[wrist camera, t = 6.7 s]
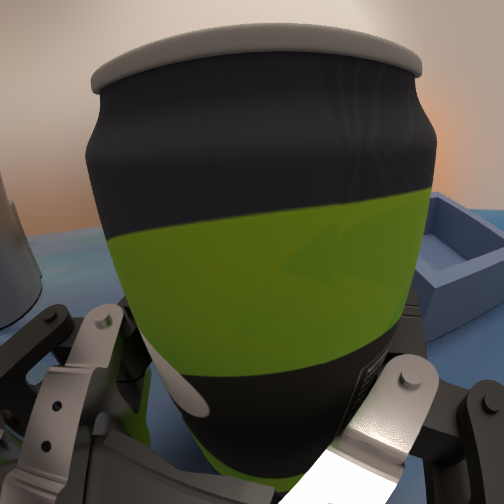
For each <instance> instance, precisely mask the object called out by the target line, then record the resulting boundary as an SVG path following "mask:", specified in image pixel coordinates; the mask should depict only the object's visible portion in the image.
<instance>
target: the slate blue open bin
mask: <svg viewBox="0 0 504 504" xmlns="http://www.w3.org/2000/svg"><path fill="white" fill-rule="evenodd" d="M411 286H412V287H413V289H414V290H415V291H416V293H417V297H418V302H419V308H420V313H421V319H422V325H423V332H424V338H425V344H426V343H428V342H430V341H432V340H434V339H436V338H438V337H440V336H442V335H444V334H446V333H448V332H450V331H452V330H454V329H456V328H458V327H460V326H462V325H464V324H466V323H467V322H469V321H471V320H473V319H475V318H476V317H478V316H480V315H482V314H484V313H485V312H487V311H489V310H490V309H492V308H494V307H495V306H497V305H499V304H500V303H502V302H503V301H504V232H503V231H501V230H500V229H498V228H497V227H495V226H494V225H492V224H491V223H489V222H488V221H486V220H484V219H483V218H481V217H480V216H478V215H477V214H475V213H473V212H472V211H470V210H468V209H467V208H465V207H463V206H462V205H460V204H458V203H457V202H455V201H453V200H451V199H450V198H448V197H446V196H444V195H442V194H441V193H439V192H433V193H431V196H430V202H429V208H428V214H427V219H426V224H425V229H424V234H423V238H422V243H421V247H420V252H419V256H418V260H417V264H416V268H415V272H414V275H413V279H412V282H411Z"/></svg>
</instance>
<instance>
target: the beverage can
mask: <svg viewBox="0 0 504 504" xmlns="http://www.w3.org/2000/svg"><path fill="white" fill-rule="evenodd" d="M421 75H422V62H421V59H420V58H419V57H418V55H416V54H415V53H414V52H412V51H411V50H409V49H407V48H406V47H403V46H401V45H399V44H397V43H394V42H392V41H389V40H386V39H383V38H380V37H377V36H373V35H370V34H366V33H362V32H357V31H353V30H348V29H342V28H337V27H330V26H322V25H312V24H298V23H256V24H240V25H230V26H222V27H215V28H208V29H203V30H198V31H192V32H188V33H184V34H179V35H175V36H171V37H168V38H164V39H161V40H157V41H154V42H151V43H148V44H146V45H143V46H140V47H138V48H135V49H133V50H130V51H128V52H126V53H124V54H122V55H119V56H117V57H116V58H114V59H112V60H110V61H108V62H107V63H105V64H104V65H102V66H101V67H100V68H98V69H97V70H96V71H95V72H94V74H93V75H92V78H91V88H92V91H93V93H95V94H98V95H100V112H99V117H98V120H97V123H96V126H95V128H94V130H93V133H92V135H91V137H90V140H89V142H88V145H87V148H86V153H85V158H86V164H87V168H88V173H89V178H90V182H91V186H92V190H93V194H94V198H95V202H96V206H97V210H98V213H99V217H100V221H101V224H102V228H103V231H104V234H105V238H106V241H107V244H108V247H109V251H110V254H111V257H112V260H113V263H114V266H115V269H116V272H117V274H118V277H119V280H120V283H121V286H122V288H123V291H124V294H125V296H126V299H127V302H128V304H129V307H130V309H131V312H132V314H133V317H134V319H135V322H136V324H137V326H138V329H139V331H140V333H141V336H142V338H143V340H144V343H145V345H146V347H147V349H148V351H149V354H150V356H151V358H152V360H153V362H154V364H155V366H156V369H157V371H158V373H159V375H160V377H161V379H162V381H163V383H164V385H165V387H166V389H167V391H168V393H169V394H170V396H171V398H172V400H173V402H174V404H175V406H176V408H177V409H178V411H179V413H180V415H181V417H182V418H183V420H184V422H185V424H186V425H187V427H188V429H189V431H190V432H191V434H192V436H193V437H194V439H195V441H196V442H197V444H198V445H199V447H200V449H201V450H202V452H203V453H204V455H205V457H206V458H207V460H208V461H209V463H210V464H211V466H212V467H213V469H214V470H215V472H216V473H217V474H218V475H225V476H231V477H235V478H238V479H242V480H246V481H250V482H254V483H258V484H262V485H266V486H271V487H276V495H278V496H280V497H282V498H284V497H286V495H287V494H288V493H289V492H290V491H291V490H292V489H293V488H294V487H295V486H296V485H297V484H298V482H299V481H300V480H301V479H302V478H303V477H304V476H305V475H306V473H307V472H308V471H309V470H310V469H311V468H312V466H313V465H314V464H315V463H316V462H317V460H318V459H319V458H320V457H321V455H322V454H323V453H324V452H325V450H326V449H327V448H328V447H329V445H330V444H331V443H332V442H333V440H334V439H335V438H336V437H337V436H338V435H339V434H341V433H342V432H343V431H344V430H345V429H346V427H347V426H348V424H349V423H350V422H351V420H352V419H353V417H354V416H355V414H356V413H357V411H358V410H359V408H360V407H361V405H362V404H363V402H364V401H365V399H366V397H367V396H368V394H369V391H370V389H371V387H372V384H373V382H374V379H375V377H376V375H377V372H378V371H379V370H380V368H381V366H382V365H383V362H384V360H385V357H386V355H387V352H388V350H389V348H390V346H391V344H392V341H393V338H394V336H395V333H396V330H397V327H398V324H399V321H400V318H401V315H402V312H403V309H404V306H405V303H406V300H407V296H408V293H409V289H410V286H411V282H412V279H413V275H414V272H415V268H416V264H417V260H418V256H419V252H420V247H421V243H422V238H423V234H424V229H425V224H426V219H427V214H428V208H429V202H430V196H431V189H432V183H433V174H434V167H435V166H434V165H435V158H436V148H437V137H436V133H435V130H434V128H433V126H432V124H431V123H430V121H429V119H428V117H427V116H426V114H425V112H424V110H423V109H422V106H421V104H420V102H419V99H418V97H417V93H416V88H415V78H418V77H420V76H421Z"/></svg>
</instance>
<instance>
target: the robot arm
mask: <svg viewBox="0 0 504 504" xmlns="http://www.w3.org/2000/svg"><path fill="white" fill-rule="evenodd" d="M41 275H42V273H41V271H40V269H39V267H38V264H37V262H36V260H35V258H34V255H33V253H32V250H31V248H30V246H29V243H28V241H27V238H26V236H25V233H24V230H23V228H22V225H21V222H20V219H19V217H18V213H17V210H16V207H15V204H14V202H13V200H11V199H8V198H7V194H6V191H5V188H4V184H3V180H2V176H1V173H0V328H2V327H4V326H7V325H9V324H10V323H12V322H14V321H15V320H17V319H18V318H19V317H21V316H22V315H23V314H24V313H25V312H26V311H27V310H28V309H29V308H30V307H31V306H32V305H33V304H34V302H35V301H36V300H37V298H38V296H39V294H40V292H41V288H42V284H41V281H40V277H41ZM50 351H51V353H52V354H53V356H54V357H55V358H56V360H57V361H58V363H59V365H58V366H56V365H54V366H51V367H50V368H49V369H48V370H47V372H46V374H45V377H44V379H43V380H42V381H41V382H40V383H39V384H37V385H31V384H29V383H28V382H27V380H26V374H27V373H28V371H29V370H30V369H31V368H33V367H34V366H35V365H36V364H37V363H38V362H39V361H40V360H41V359H42V358H43V357H45V356H46V355H47V354H48V353H49V352H50ZM151 362H152V358H151V356H150V354H149V351H148V349H147V347H146V345H145V343H144V340H143V338H142V336H141V333H140V331H139V329H138V326H137V324H136V322H135V319H134V317H133V314H132V312H131V309H130V307H129V304H128V302H127V299H126V296H124V297H123V298H122V300H121V301H120V302H119V303H118V304H117V305H115V304H104V305H101V306H98V307H96V308H94V309H93V310H92V311H90V312H89V313H88V314H87V315H86V317H85V318H72V317H71V315H70V313H69V311H68V309H67V308H66V306H64V305H61V304H57V305H52V306H50V307H48V308H46V309H45V310H43V311H42V312H41V313H40V314H38V315H37V316H36V317H35V318H33V319H32V320H31V321H30V322H29V323H27V324H26V325H25V326H24V327H23V328H21V329H20V330H19V331H18V332H17V333H16V334H14V335H13V336H12V337H11V338H10V339H9V340H7V341H6V342H5V343H4V344H3V345H2V346H1V347H0V504H385V502H386V501H387V499H388V498H389V496H390V495H391V493H392V491H393V490H394V488H395V486H396V485H397V483H398V481H399V480H400V478H401V476H402V474H403V471H404V468H405V465H404V462H405V459H406V457H407V455H408V454H410V455H413V456H416V457H419V458H422V459H423V466H424V475H425V485H426V498H427V504H504V386H502V385H501V384H500V383H498V382H496V381H492V380H483V381H480V382H478V383H476V384H475V385H474V386H473V387H472V388H471V389H470V390H468V389H464V388H461V387H458V386H455V385H452V384H449V383H447V382H445V381H443V380H441V379H440V378H439V377H438V373H437V371H436V369H435V367H434V366H433V365H432V364H431V363H430V362H429V361H428V360H427V354H426V346H425V338H424V332H423V325H422V319H421V313H420V308H419V302H418V297H417V293H416V291H415V290H414V289H413V287H412V286H410V289H409V293H408V296H407V300H406V303H405V306H404V309H403V312H402V315H401V318H400V321H399V324H398V327H397V330H396V333H395V336H394V338H393V341H392V344H391V346H390V348H389V350H388V352H387V355H386V357H385V360H384V362H383V365H382V366H381V368H380V370H379V371H378V372H377V375H376V377H375V379H374V382H373V384H372V387H371V389H370V391H369V394H368V396H367V397H366V399H365V401H364V402H363V404H362V405H361V407H360V408H359V410H358V411H357V413H356V414H355V416H354V417H353V419H352V420H351V422H350V423H349V424H348V426H347V427H346V429H345V430H344V431H343V432H342V433H341V434H339V435H338V436H337V437H336V438H335V439H334V440H333V442H332V443H331V444H330V445H329V447H328V448H327V449H326V450H325V452H324V453H323V454H322V455H321V457H320V458H319V459H318V460H317V462H316V463H315V464H314V465H313V466H312V468H311V469H310V470H309V471H308V472H307V473H306V475H305V476H304V477H303V478H302V479H301V480H300V481H299V482H298V484H297V485H296V486H295V487H294V488H293V489H292V490H291V491H290V492H289V493H288V494H287V495H286V497H285V498H282V497H280V496H278V495H276V487H271V486H266V485H262V484H258V483H254V482H250V481H246V480H242V479H238V478H235V477H231V476H225V475H213V474H202V473H194V472H186V471H181V470H178V469H176V468H175V467H173V466H172V465H171V464H169V463H168V462H167V461H165V460H164V459H163V458H161V457H160V456H159V455H158V454H156V453H155V452H154V451H153V450H151V449H150V435H149V431H148V428H147V425H146V412H147V403H148V395H149V388H150V381H151V368H150V366H149V365H150V363H151Z"/></svg>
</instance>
